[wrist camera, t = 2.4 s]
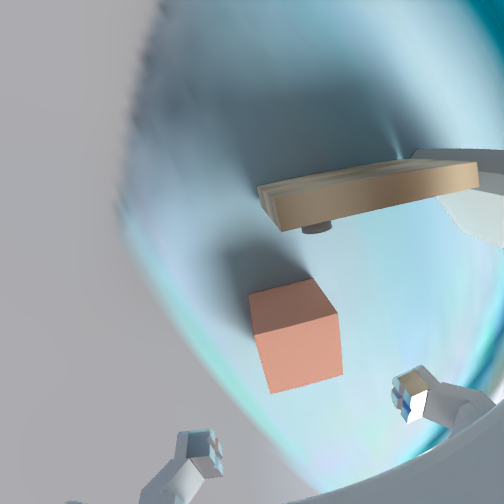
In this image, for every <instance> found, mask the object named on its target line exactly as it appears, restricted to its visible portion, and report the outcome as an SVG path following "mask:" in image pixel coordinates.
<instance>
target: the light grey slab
mask: <svg viewBox="0 0 504 504" xmlns="http://www.w3.org/2000/svg"><path fill="white" fill-rule="evenodd" d="M410 159H430V160H454V161H470V162H477V168H478V178H479V187H477V188H472V189H468V190H463V191H458V192H454V193H449V194H444V195H440V196H435V198H436V199H437V200H438V201H439V203H440V204H441V205H442V207H443V208H444V209H445V211H446V212H447V213H448V215H449V216H450V217H451V219H452V220H453V222H454V223H455V224H456V226H457V227H458V229H459V230H460V231H461V232H464V233H466V234H469V235H471V236H474V237H477V238H479V239H482V240H484V241H487V242H489V243H492V244H494V245H497V246H499V247H501V248H504V150H490V149H416V150H415V152H414V153H413V155H412V157H411V158H410Z"/></svg>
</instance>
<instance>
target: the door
mask: <svg viewBox="0 0 504 504" xmlns="http://www.w3.org/2000/svg"><path fill="white" fill-rule="evenodd" d="M477 187H479V178H478V168H477V162H470V161H454V160H430V159H399V160H393V161H386V162H380V163H373V164H367V165H361V166H355V167H350V168H344V169H338V170H333V171H328V172H323V173H317V174H312V175H307V176H302V177H298V178H293V179H288V180H283V181H279V182H274V183H270V184H265V185H261V186H257V190H258V194H259V198H260V202H261V206H262V208H263V209H264V210H265V212H266V213H267V214H268V215H269V217H270V218H271V219H272V220H273V222H274V223H275V224H276V226H277V227H278V228H279V229H280V231H281V232H283V231H288V230H292V229H296V228H300V227H301V228H302V232H303V233H305V234H316V233H321V232H325V231H327V230H329V229H331V228H332V226H331V220H334V219H338V218H343V217H347V216H351V215H356V214H360V213H364V212H369V211H373V210H377V209H382V208H386V207H391V206H395V205H399V204H404V203H408V202H413V201H417V200H422V199H426V198H431V197H435V196H440V195H444V194H449V193H454V192H458V191H463V190H468V189H472V188H477Z"/></svg>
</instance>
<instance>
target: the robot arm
mask: <svg viewBox="0 0 504 504" xmlns="http://www.w3.org/2000/svg"><path fill="white" fill-rule="evenodd" d="M392 384H393V386H394V388H393V389H392V392H391V397H392V401H393V403H394V405H395V407H396V408H397V409H400V410H401V415H402V417H403V418H404V420H405V421H406V423H409V422H411V421H413V420H415V419H417V418H420V417H422V416H423V417H424V418H426V419H429V420H431V421H433V422H435V423H438V424H440V425H442V426H445V427H447V428H449V429H452V430H451V433H450V435H449V438H448V439H447V440H445V441H444V442H442V443H440V444H439V445H437V446H435V447H433V448H432V449H430V450H428V451H426V452H424V453H423V454H421V455H419V456H417V457H415V458H413V459H411V460H409V461H407V462H405V463H403V464H401V465H399V466H396V467H394V468H392V469H390V470H387V471H385V472H383V473H381V474H378V475H376V476H373V477H371V478H368V479H366V480H363V481H360V482H358V483H355V484H352V485H349V486H346V487H343V488H340V489H337V490H334V491H331V492H327V493H324V494H320V495H317V496H313V497H310V498H306V499H302V500H297V501H293V502H288V503H283V504H504V399H503V400H502V401H501V402H500V403H498V404H497V405H496V404H495V403H494V402H493V401H492V400H491V399H490V398H489V397H488V396H487V395H486V394H484V393H483V392H482V391H478V390H473V389H469V388H465V387H460V386H456V385H452V384H448V383H444V382H442V383H440V382H439V381H438V380H437V379H436V378H435V377H434V376H433V375H432V374H431V373H430V372H429V371H428V370H427V369H426V368H425V367H424V366H423V365H420V366H418V367H416V368H414V369H412V370H409V371H407V372H405V373H403V374H401V375H398V376H396V377H394V378H393V381H392ZM222 458H223V453H222V447H221V444H220V442H219V440H218V439H217V438H215V432H214V431H213V429H205V430H196V431H185V432H179V433H178V435H177V442H176V449H175V456H174V459H173V460H172V459H171V460H170V461H169V462H168V463H167V464H166V465H165V467H164V468H163V469H162V470H161V471H160V472H159V473H158V474H157V475H156V476H155V477H154V478H153V479H152V480H151V481H150V482H149V483H148V484H147V485H146V486H145V487H144V488H143V489H142V490H141V494H140V500H139V504H189V503H190V501H191V500H192V498H193V497H194V495H195V494H196V492H197V491H198V489H199V488H200V486H201V485H202V483H203V482H204V480H205V479H206V478H214V477H223V464H222V463H221V461H220V460H221V459H222ZM63 504H87V503H82V502H78V501H67V502H65V503H63Z"/></svg>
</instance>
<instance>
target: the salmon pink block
mask: <svg viewBox="0 0 504 504" xmlns="http://www.w3.org/2000/svg"><path fill="white" fill-rule="evenodd" d="M248 298H249V305H250V312H251V320H252V327H253V334H254V338H255V342H256V345H257V349H258V352H259V356H260V359H261V363H262V366H263V370H264V373H265V377H266V380H267V383H268V387H269V390H270V394H273V393H277V392H281V391H285V390H289V389H293V388H297V387H301V386H305V385H309V384H312V383H316V382H319V381H323V380H326V379H329V378H333V377H336V376H339V375H342V374H343V367H342V354H341V342H340V331H339V321H338V313H337V311H336V310H335V308H334V307H333V306H332V304H331V303H330V301H329V300H328V298H327V297H326V296H325V294H324V293H323V291H322V290H321V289H320V287H319V286H318V284H317V283H316V282H315V280H314V279H313V278H311V279H308V280H304V281H300V282H296V283H292V284H288V285H284V286H280V287H276V288H272V289H268V290H264V291H260V292H256V293H252V294H248Z"/></svg>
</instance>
